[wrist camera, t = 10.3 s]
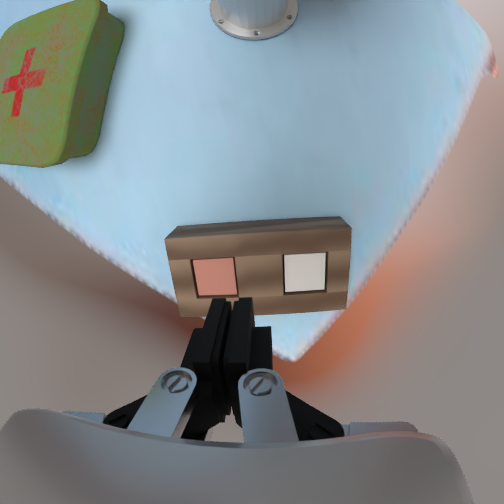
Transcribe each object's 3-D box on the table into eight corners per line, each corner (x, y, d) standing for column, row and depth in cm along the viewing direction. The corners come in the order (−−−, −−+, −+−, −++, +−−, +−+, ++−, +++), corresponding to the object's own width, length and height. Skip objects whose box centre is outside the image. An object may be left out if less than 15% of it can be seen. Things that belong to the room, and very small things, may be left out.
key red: (199, 248, 41) (192, 260, 36) (236, 245, 40) (232, 257, 36) (205, 280, 43) (199, 295, 38) (239, 279, 42) (237, 294, 38)
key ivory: (282, 243, 40) (284, 255, 36) (319, 241, 39) (325, 252, 35) (283, 277, 42) (285, 292, 38) (318, 275, 41) (324, 289, 37)
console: (177, 226, 41) (164, 239, 35) (339, 216, 39) (351, 228, 33) (190, 296, 45) (180, 316, 39) (336, 289, 43) (345, 309, 38)
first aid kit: (33, 36, 27) (2, 28, 18) (135, 14, 28) (107, -10, 19) (8, 155, 37) (-26, 162, 27) (99, 163, 38) (61, 170, 28)
